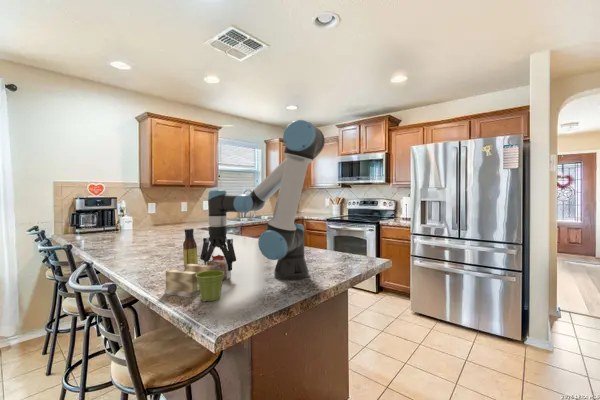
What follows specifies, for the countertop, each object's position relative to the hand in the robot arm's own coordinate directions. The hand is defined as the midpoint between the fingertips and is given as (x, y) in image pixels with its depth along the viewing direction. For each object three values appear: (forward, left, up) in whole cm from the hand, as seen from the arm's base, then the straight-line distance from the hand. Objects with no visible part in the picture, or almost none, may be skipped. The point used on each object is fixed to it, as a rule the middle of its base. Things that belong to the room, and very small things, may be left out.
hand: (218, 277), depth 126 cm
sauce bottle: (+21, -7, 0) cm, 22 cm away
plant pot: (-13, +23, 0) cm, 26 cm away
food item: (0, 0, -1) cm, 1 cm away
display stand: (0, +17, 0) cm, 17 cm away
